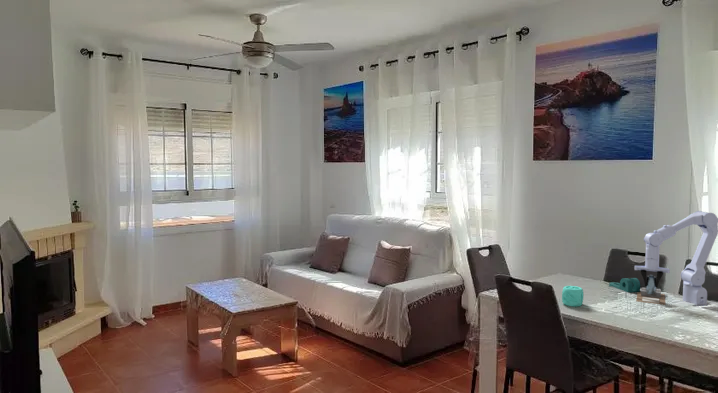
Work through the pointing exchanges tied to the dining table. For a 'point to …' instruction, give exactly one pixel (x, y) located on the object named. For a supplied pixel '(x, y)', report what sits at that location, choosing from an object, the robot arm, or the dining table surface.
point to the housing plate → (651, 297)
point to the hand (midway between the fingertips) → (651, 286)
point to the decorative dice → (572, 296)
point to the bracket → (627, 285)
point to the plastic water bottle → (651, 285)
